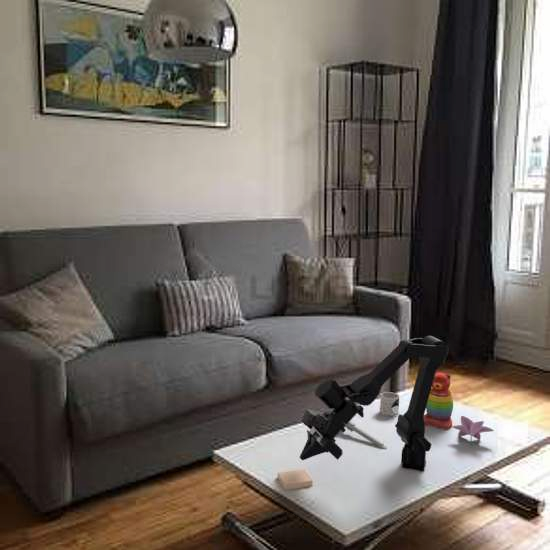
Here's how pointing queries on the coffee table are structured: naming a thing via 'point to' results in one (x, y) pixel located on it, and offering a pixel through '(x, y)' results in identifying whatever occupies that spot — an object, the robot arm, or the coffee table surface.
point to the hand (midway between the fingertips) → (300, 458)
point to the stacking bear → (439, 403)
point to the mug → (389, 404)
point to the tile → (295, 479)
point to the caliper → (364, 434)
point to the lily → (471, 428)
